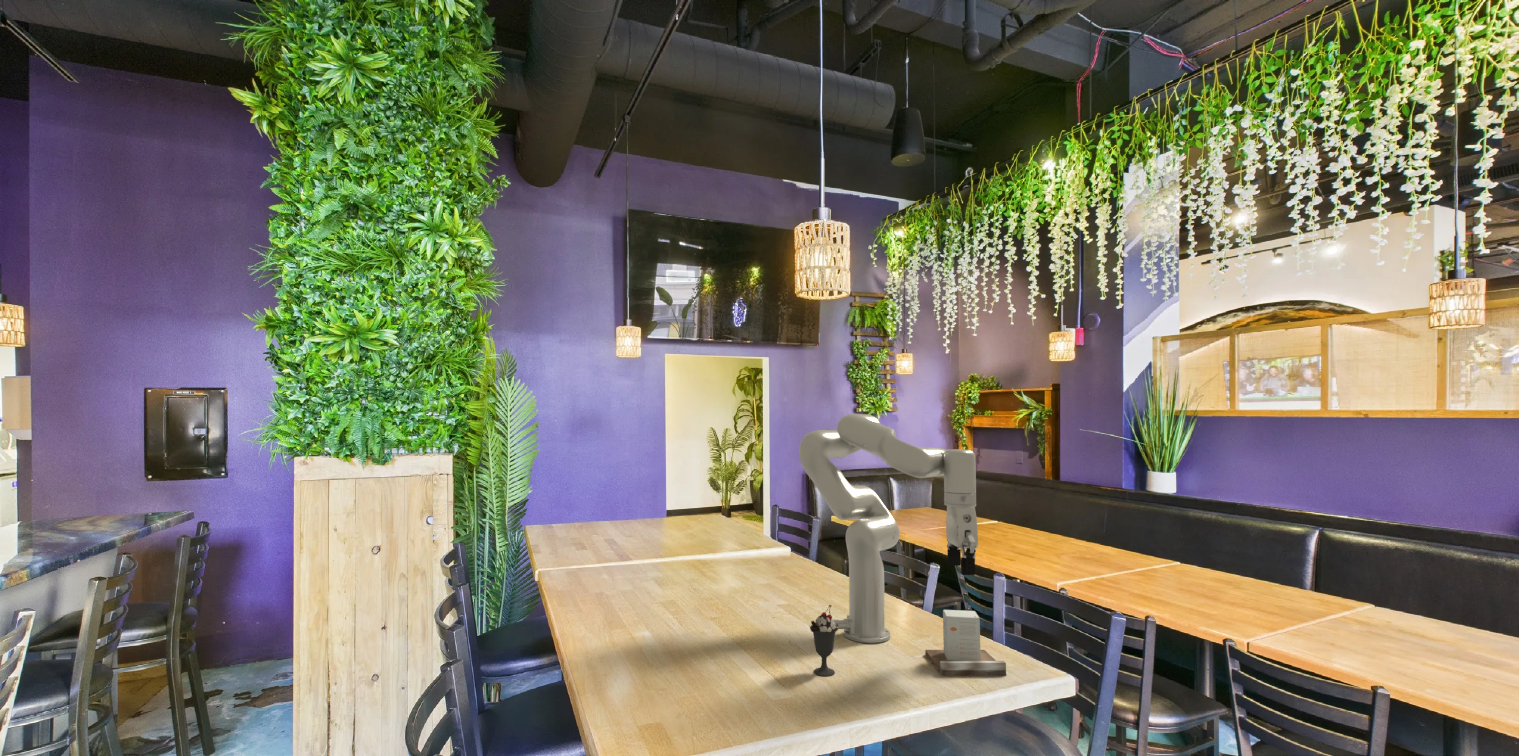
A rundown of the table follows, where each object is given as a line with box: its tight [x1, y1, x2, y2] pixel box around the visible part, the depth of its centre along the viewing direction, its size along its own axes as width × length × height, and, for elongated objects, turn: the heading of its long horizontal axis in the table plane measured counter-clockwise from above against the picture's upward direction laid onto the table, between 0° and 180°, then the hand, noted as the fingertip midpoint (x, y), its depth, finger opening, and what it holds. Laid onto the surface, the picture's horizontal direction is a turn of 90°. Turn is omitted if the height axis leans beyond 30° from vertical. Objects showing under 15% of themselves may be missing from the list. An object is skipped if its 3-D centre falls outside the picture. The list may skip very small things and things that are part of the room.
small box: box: [942, 609, 981, 661], centre depth 152 cm, size 8×6×10 cm
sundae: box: [809, 604, 839, 677], centre depth 145 cm, size 7×7×15 cm
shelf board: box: [924, 649, 1007, 676], centre depth 150 cm, size 15×13×3 cm
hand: (960, 569), depth 153 cm, fingers open, 9 cm apart
